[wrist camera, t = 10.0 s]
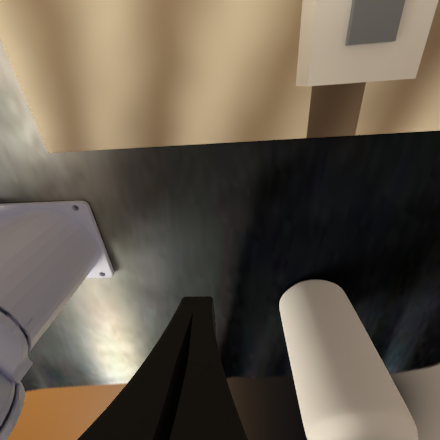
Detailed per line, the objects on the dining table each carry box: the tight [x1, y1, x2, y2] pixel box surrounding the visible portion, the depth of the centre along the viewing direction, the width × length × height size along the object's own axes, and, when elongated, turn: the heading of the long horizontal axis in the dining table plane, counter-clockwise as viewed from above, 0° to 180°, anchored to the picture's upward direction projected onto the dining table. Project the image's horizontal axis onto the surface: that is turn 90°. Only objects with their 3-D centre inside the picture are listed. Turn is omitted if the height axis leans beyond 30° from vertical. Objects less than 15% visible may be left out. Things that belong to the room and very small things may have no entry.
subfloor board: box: [0, 0, 440, 153], centre depth 13 cm, size 26×12×1 cm, turn 94°
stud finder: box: [296, 0, 438, 86], centre depth 11 cm, size 5×6×3 cm
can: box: [279, 279, 418, 440], centre depth 18 cm, size 6×6×12 cm
